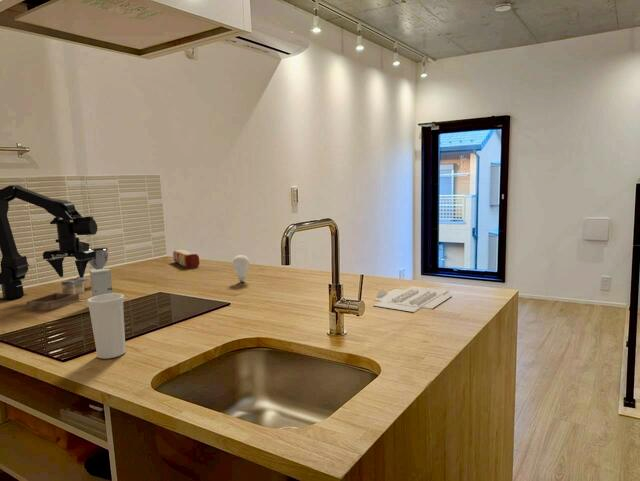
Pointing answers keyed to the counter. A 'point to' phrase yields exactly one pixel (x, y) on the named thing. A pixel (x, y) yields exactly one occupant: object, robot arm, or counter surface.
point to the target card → (84, 299)
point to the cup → (108, 324)
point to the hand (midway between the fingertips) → (71, 277)
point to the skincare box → (101, 282)
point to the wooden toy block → (73, 286)
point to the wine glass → (99, 258)
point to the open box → (52, 301)
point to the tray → (411, 298)
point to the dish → (87, 282)
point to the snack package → (186, 258)
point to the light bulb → (241, 266)
